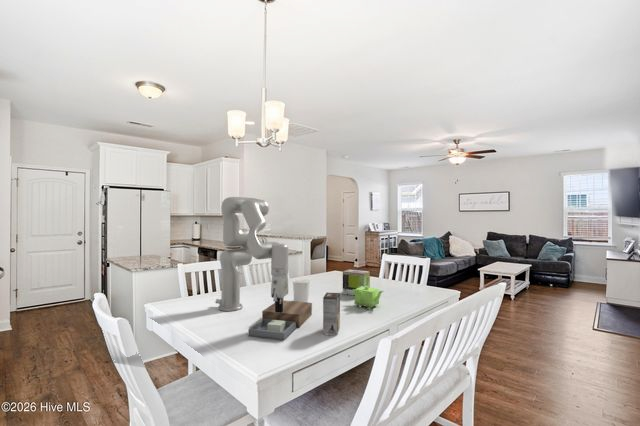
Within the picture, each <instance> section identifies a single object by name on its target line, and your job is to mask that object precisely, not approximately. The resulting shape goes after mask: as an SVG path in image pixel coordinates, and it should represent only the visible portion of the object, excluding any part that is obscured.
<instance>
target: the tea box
mask: <svg viewBox="0 0 640 426" xmlns="http://www.w3.org/2000/svg"><path fill="white" fill-rule="evenodd" d="M370 275H371V274H370V271H369V270H368V271H367V270H358V269H346V270H342V295H347V294H348V296H354V294H353V293H352V292H351V291H352V290H353V289H354V290H355V289H357V288H359V287H362V286H363V287H365V286H369V287H370V288H371V286H370V285H371V276H370Z"/></svg>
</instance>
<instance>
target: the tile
mask: <svg viewBox="0 0 640 426" xmlns="http://www.w3.org/2000/svg"><path fill="white" fill-rule="evenodd" d="M285 324H286V321H281V320H272V321H271V322H269V323H268V324H267V331H276V332H281V331H282V330H284V329H285Z"/></svg>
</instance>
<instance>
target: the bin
mask: <svg viewBox="0 0 640 426" xmlns="http://www.w3.org/2000/svg"><path fill="white" fill-rule="evenodd" d="M271 321H272V320H271V319H262V318H261V319H260V320H259V321H258V322H256V323H255V324H253V325H252V326H250V327H249V328H248V333H247V334H248V336H247V337H251V338H259V339H269V340H274V341H275V340H276V341H285V340H287V338H289V336H290V335H291V334H293V332H294V331H295V330H297V328H296V322H290V321H286V324H285V329H284V330H282V331H281V332H276V331H267V324H268V323H269V322H271Z"/></svg>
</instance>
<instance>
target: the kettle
mask: <svg viewBox="0 0 640 426" xmlns="http://www.w3.org/2000/svg"><path fill="white" fill-rule="evenodd" d="M351 292H352V293H353V294H354V295H355V296H354V295H353V296H354V305H358V306H362V307H366V309H367V308H373V306H374V307H376V306H378V305H379V304H380V302H379V301H380V298H381V294H382V293H383V292H385V291H384V290H380V289H379V288H377V287H376V288H375V287H371V286H370V287H369V286H365V287H363V286H362V287H359V288H357V289H355V290H354V289H353V290H352V291H351Z"/></svg>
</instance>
